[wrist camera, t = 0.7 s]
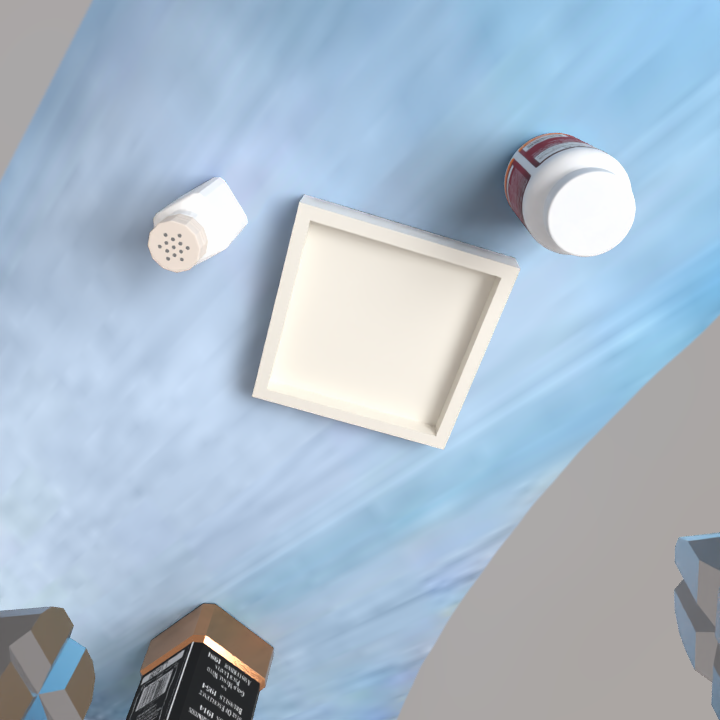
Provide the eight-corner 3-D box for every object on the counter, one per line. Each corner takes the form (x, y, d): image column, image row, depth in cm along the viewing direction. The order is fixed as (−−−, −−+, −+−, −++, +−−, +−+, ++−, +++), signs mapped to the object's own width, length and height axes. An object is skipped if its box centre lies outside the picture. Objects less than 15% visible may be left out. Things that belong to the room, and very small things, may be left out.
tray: (304, 194, 46) (299, 202, 43) (514, 257, 47) (520, 268, 44) (258, 381, 53) (251, 396, 50) (442, 432, 54) (443, 449, 52)
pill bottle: (555, 238, 46) (597, 291, 36) (484, 193, 45) (508, 236, 35) (613, 161, 43) (675, 196, 34) (539, 112, 42) (582, 133, 32)
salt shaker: (252, 221, 47) (220, 261, 38) (208, 245, 48) (166, 289, 39) (222, 171, 45) (181, 201, 37) (177, 198, 46) (127, 232, 38)
